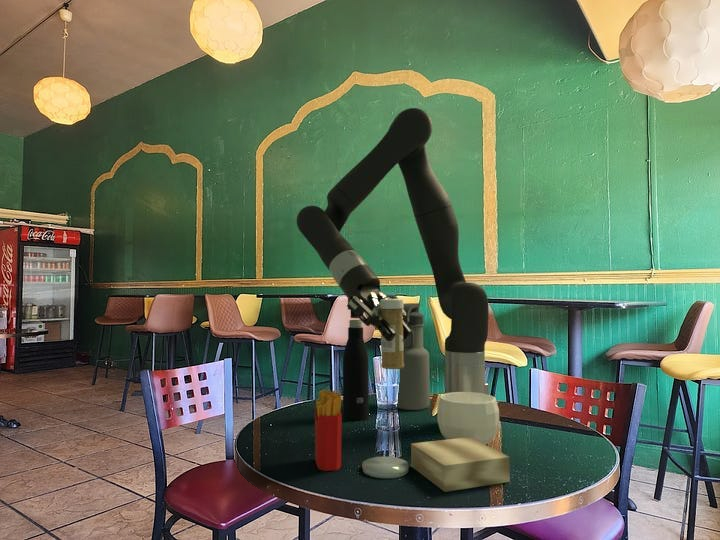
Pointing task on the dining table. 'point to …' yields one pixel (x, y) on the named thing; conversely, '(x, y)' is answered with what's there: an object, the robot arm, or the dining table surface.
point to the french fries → (328, 430)
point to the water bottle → (414, 364)
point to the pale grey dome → (385, 467)
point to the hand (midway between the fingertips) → (400, 337)
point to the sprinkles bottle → (394, 348)
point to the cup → (468, 416)
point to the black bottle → (355, 374)
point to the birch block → (460, 463)
